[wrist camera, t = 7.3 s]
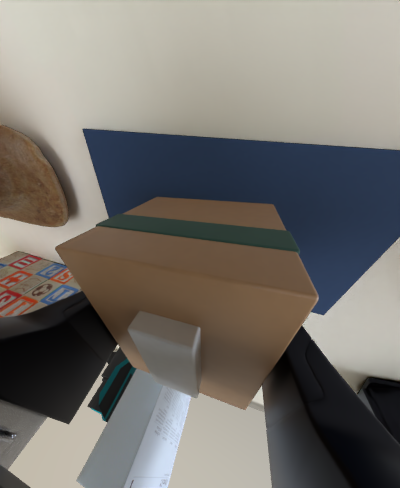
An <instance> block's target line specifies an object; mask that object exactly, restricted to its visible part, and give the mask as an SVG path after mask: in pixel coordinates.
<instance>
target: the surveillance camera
mask: <svg viewBox="0 0 400 488" xmlns="http://www.w3.org/2000/svg"><path fill="white" fill-rule="evenodd" d="M107 363H108V364H109V365H108V366H107V368H106V369H105V371H104V373H103V374H102V377H103V379H102V381H103V382H102V384H101V385H100V387H99V388H98V390H97V392H96V393H95V395H94V396H93V398H92V400H91V401H90V403H89V404H88V407H90V408H91V409H92V410H94V411H96V412H98V413H100V414H102V419H103V420H104V421H106V422H108V421H109V419H110V417H111V415H112V413H113V412H114V410H115V408H116V406H117V404H118V402H119V400H120V399H121V397H122V395H123V393H124V391H125V389H126V387H127V386H128V384H129V382H130V380H131V378H132V376H133V374H134V373H135V371H136V369H137V368H135V367H133V366H132V365H131V363H130V362H129V360H128V359H127V357H126V356H125V354H124V352H123V351H122V349H121V348H119V349H118V351H117V352H113V353H112V354H111V356H110V358H109V359H108V361H107Z"/></svg>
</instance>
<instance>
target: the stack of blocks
mask: <svg viewBox="0 0 400 488" xmlns="http://www.w3.org/2000/svg"><path fill="white" fill-rule="evenodd" d="M80 291H82V289H81V287H80V286H79V284H78V283H77V281H76V280H75V278H74V277H73V275H72V274H71V272H70V271H69V269H68V268H67V266H64V265H61V264H58V263H54V262H51V261H47V260H44V259H41V258H38V257H35V256H32V255H29V254H26V253H22V252H19V251H18V252H15V253H13V254H11V255H8V256H6V257H4V258H1V259H0V318H1V317H11V316H17V315H22V314H26V313H30V312H33V311H35V310H38V309H40V308H42V307H45V306H47V305H50V304H52V303H55V302H57V301H59V300H62V299H64V298H67V297H69V296H71V295H74V294H76V293H78V292H80Z"/></svg>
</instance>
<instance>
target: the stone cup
mask: <svg viewBox="0 0 400 488" xmlns="http://www.w3.org/2000/svg"><path fill="white" fill-rule="evenodd" d="M68 216H69V212H68V206H67V202H66V198H65V195H64V192H63V189H62V187H61V185H60V182H59V180H58V178H57V176H56V174H55V172H54V170H53V168H52V167H51V165H50V164H49V162H48V161H47V160H46V158H45V157H44V156H43V154H42V153H41V151H40V149H39V147H38V146H37V145H36V144H35V143H34V142H33V141H32V140H31V139H29V138H28V137H27V136H26V135H24V134H22V133H20V132H18V131H16V130H14V129H11V128H9V127H6V126H4V125H0V217H5V218H10V219H14V220H18V221H22V222H26V223H30V224H35V225H40V226H47V227H59V226H63V225H65V224H66V223H67V221H68Z"/></svg>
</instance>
